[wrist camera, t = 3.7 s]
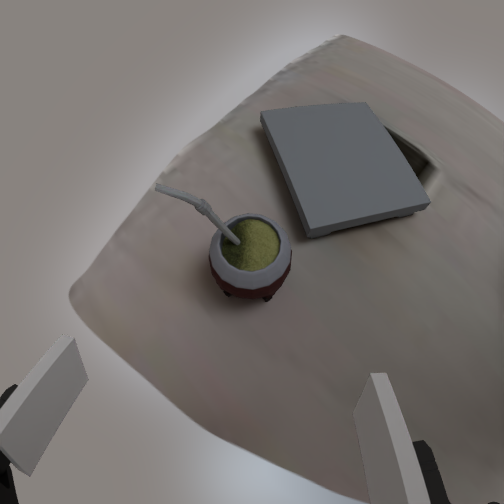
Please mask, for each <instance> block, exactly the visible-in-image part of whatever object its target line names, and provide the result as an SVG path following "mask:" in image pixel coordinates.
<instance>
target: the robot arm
mask: <svg viewBox="0 0 504 504" xmlns="http://www.w3.org/2000/svg"><path fill="white" fill-rule="evenodd" d="M87 381H88V377H87V374H86V371H85V368H84V366H83V363H82V360H81V357H80V354H79V351H78V348H77V344H76V341H75V338H74V337H70V336H67V335H63V334H62V335H61V336H60V337H59V339H58V340H57V341H56V342H55V343H54V344H53V345H52V346H51V348H50V349H49V350H48V351H47V352H46V353H45V354H44V356H43V357H42V358H41V359H40V360H39V362H38V363H37V364H36V365H35V366H34V367H33V369H32V370H31V371H30V372H29V374H28V375H27V376H26V377H25V378H24V379H23V381H22V382H21V383H20V384H19V386H18V385H16V384H14V385H13V386H11V387H10V388H8V389H6V391H5V392H4V393H3V394H2V396H1V397H0V504H19V503H18V499H17V495H16V490H15V486H14V481H13V476H12V471H11V468H10V466H9V464H10V463H12V464H13V465H14V466H15V467H16V468H17V469H18V470H20V471H21V472H23V473H25V474H26V475H28V476H31V474H32V473H33V471H34V469H35V467H36V465H37V463H38V462H39V460H40V457H41V456H42V455H43V453H44V451H45V449H46V447H47V446H48V444H49V442H50V441H51V439H52V437H53V436H54V434H55V432H56V431H57V429H58V427H59V425H60V424H61V422H62V421H63V419H64V417H65V416H66V414H67V412H68V411H69V409H70V408H71V406H72V404H73V403H74V401H75V399H76V398H77V396H78V395H79V393H80V392H81V390H82V389H83V387H84V386H85V384H86V382H87ZM353 418H354V422H355V427H356V431H357V436H358V441H359V446H360V451H361V455H362V461H363V466H364V471H365V476H366V482H367V487H368V493H369V499H370V504H451V503H450V502H449V500H448V497H447V494H446V491H445V488H444V484H443V481H442V478H441V475H440V472H439V470H438V466H437V464H436V462H435V458H434V455H433V452H432V450H431V448H430V447H429V446H428V445H427V444H426V442H425V441H424V440H422V441H416V442H412V441H411V438H410V435H409V432H408V429H407V426H406V423H405V421H404V418H403V415H402V412H401V410H400V407H399V404H398V402H397V399H396V396H395V394H394V391H393V388H392V386H391V383H390V381H389V378H388V376H387V373H370V375H369V377H368V380H367V382H366V385H365V387H364V389H363V391H362V394H361V396H360V398H359V400H358V403H357V405H356V407H355V409H354V411H353ZM488 504H499V503H497V502H490V503H488Z"/></svg>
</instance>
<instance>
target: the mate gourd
mask: <svg viewBox="0 0 504 504" xmlns="http://www.w3.org/2000/svg"><path fill="white" fill-rule="evenodd" d="M155 191H158V192H161V193H164V194H166V195H169V196H172V197H175V198H178V199H181V200H183V201H185V202H188V203H190V204H192V205H194V206H195V209H196V210H197V211H198V212H200V213H201V214H202V215H206V216H207V217H208V218H209V220H210V221H211V222H212V223H213V224H214V225H215V226H216V227H217V228H218V230H217V231H216V233H215V234H214V236H213V237H212V241H211V245H210V250H209V261H210V266H211V271H212V275H213V277H214V278H215V280H216V282H217V284H218V285H219V287H220V288H221V289H222V290H223V291H224V293H225V294H226V295H227V296H228V297H229V296H231V295H234V296H236V297H239V298H247V299H256V298H261V297H262V298H263V299H264V300H265V301H266V302H268V301H269V300H270V299H272V296H273V295H274V294H275V292H276V291H277V290H278V289H279V288H280V287H281V285H282V284H283V282H284V280H285V278H286V277H287V275H288V273H289V271H290V268H291V256H292V250H291V245H290V242H289V240H288V237H287V234H286V232H285V231H284V230H283V229H282V228H281V227H280V226H279V225H278V224H277V222H275V221H273V220H271V219H269V218H267V217H265V216H263V215H258V214H249V213H247V214H243V215H239V216H235V217H233V218H231V219H230V220H228V221H227V222H225V223H223V222H222V221H221V220H220V219H219V218H218V216H217V215H216V214H215V213H214V212H213V211H212V208H211V206H210V205H209V204H208V203H207V202H206V201H205V200H204V199H199V198H197V197H195V196H193V195H191V194H189V193H186V192H183V191H180V190H177V189H173V188H170V187H167V186H163V185H160V184H157V183H156V187H155Z"/></svg>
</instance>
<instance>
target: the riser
mask: <svg viewBox="0 0 504 504" xmlns="http://www.w3.org/2000/svg"><path fill="white" fill-rule="evenodd" d="M260 122H261V124H262V126H263V129H264V131H265V133H266V135H267V138H268V140H269V142H270V145H271V147H272V149H273V152H274V154H275V157H276V159H277V161H278V164H279V166H280V169H281V171H282V173H283V176H284V178H285V181H286V183H287V186H288V188H289V191H290V193H291V196H292V198H293V201H294V204H295V206H296V209H297V211H298V214H299V216H300V219H301V222H302V224H303V227H304V230H305V232H306V235H307V237H310V239H311V238H315V237H320V236H324V235H328V234H330V233H331V232H332V231H336V230H341V229H345V228H349V227H353V226H358V225H362V224H366V223H370V222H375V221H379V220H383V219H387V218H392V217H396V216H398V218H399V217H404V216H408V215H412V214H413V213H414V212H417V211H422V210H425V209H426V207H427V206H428V205H429V204H430V203H431V201H430V199H429V197H428V196H427V194H426V192H425V190H424V188H423V187H422V185H421V183H420V182H419V180H418V178H417V177H416V175H415V173H414V172H413V170H412V168H411V167H410V165H409V163H408V162H407V160H406V159H405V157H404V156H403V154H402V152H401V151H400V149H399V148H398V146H397V145H396V143H395V142H394V140H393V139H392V138H391V136H390V135H389V133H388V132H387V130H386V129H385V128H384V126H383V125H382V123H381V122H380V121H379V119H378V118H377V117H376V115H375V114H374V113H373V111H372V110H371V109H370V107H369V106H368V105H367V103H366V102H362V103H339V104H323V105H311V106H300V107H291V108H282V109H274V110H267V111H261V116H260Z"/></svg>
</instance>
